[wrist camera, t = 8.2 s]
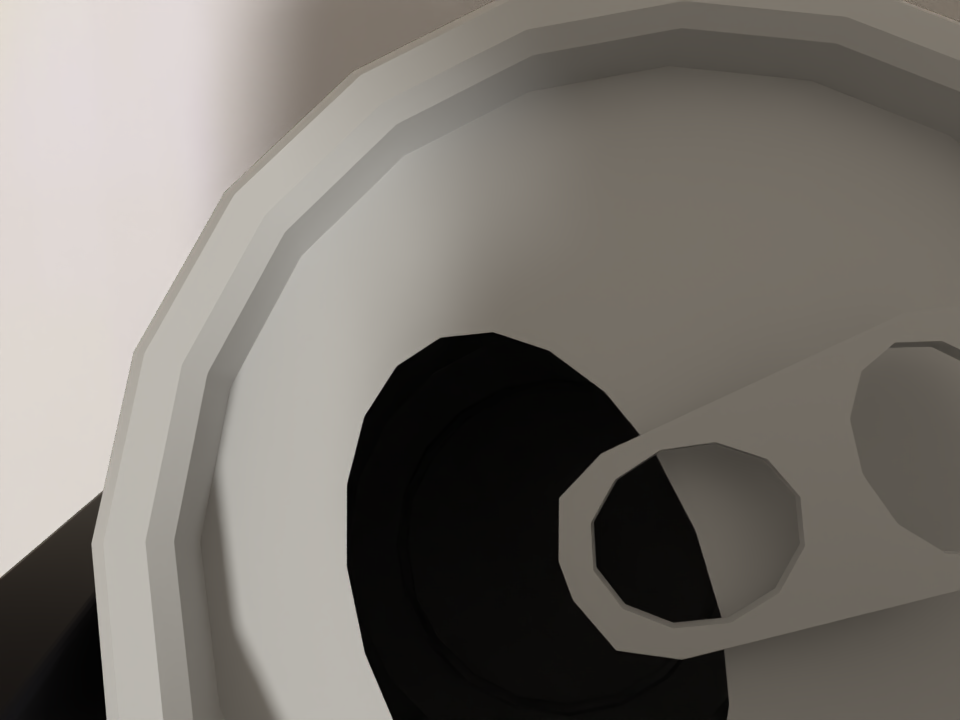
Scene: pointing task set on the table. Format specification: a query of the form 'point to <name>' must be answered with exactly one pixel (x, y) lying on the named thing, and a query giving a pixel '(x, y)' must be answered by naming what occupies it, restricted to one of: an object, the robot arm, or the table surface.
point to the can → (564, 385)
